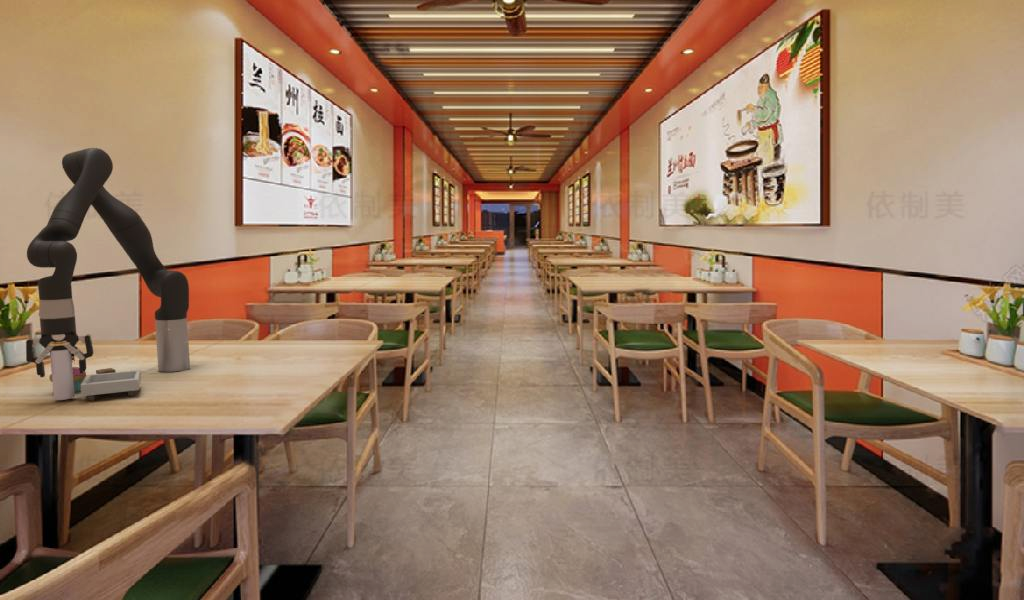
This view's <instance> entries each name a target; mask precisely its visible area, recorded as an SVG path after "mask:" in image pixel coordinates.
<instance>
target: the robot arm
mask: <svg viewBox="0 0 1024 600" xmlns="http://www.w3.org/2000/svg"><path fill="white" fill-rule="evenodd" d="M61 165H62V169H63V171H64V173H65V175H66V176H67V178H68V179H69V180H70V182H71V183H72V184H73V186H72V187H71V188H70V189H69V190H68V191H67V192H66V193H65V194H64V196H63V197H61V199H60V200H59V201H58V202H57V204H56V205H55V207H54V208H53V211H52V212H51V215H50V218H49V219H48V222H47V223H46V226H44V228H42V229H41V230H40V231H39V232H38V234H37V235H36V236H34V238H33V239H32V240H31V241H30V243H29V244H28V246H27V249H26V258H27V260H28V261H27V262H29V263H30V264H31V266H33V267H37V268H41V269H42V268H43V269H45V268H54V272H53V273H52V275H49V276H44V277H41V278H39V280H37V281H38V282H37V289H38V298H39V299H38V301H39V303H38V317H39V323H40V324H39V327H40V338H28V339H26V340H25V349H26V350H25V355H26V356H25V357H26V362H27V363H34V364H35V367H36V375H37V376H39V377H40V378H45V377H46V372H45V369H46V368H45V362H44V360H45V358H46V357H47V355H49V354H50V351H53V350H67V349H68V350H69V351H71V353H73V354H74V356H76V357H77V359H79V360H78V368H79V371H80V373H84V371H85V372H86V371H87V359H88V358H91V357H93V355H94V348H93V341H92V335H91V334H86V335H80V336H79V335H78V334H77V324H76V312H75V303H74V299H73V292H72V281H73V276H74V272H75V269H76V266H77V260H78V253H77V249H76V247H75V246H74V245H73V244H72V243H71V242H70V241H73V240H75V239H76V238H77V236H78V235H79V233H80V230H81V227H82V225H83V223H84V220H85V218H86V216H87V213H88V211H89V209H90V207H92V208H93V209H94V210H95V212H96V213H97V215H99V216H100V218H101V219H102V221H103V222H104V223H105V225H106V226H107V228H108V230H109V231H110V232H111V234H112V235H113V237H114V238H115V240H116V241H117V242H118V244H119V245H120V247H122V249H123V251H124V252H125V254H127V256H128V257H129V259H130V260H131V262H132V263H133V265H135V267H136V269H137V270H138V273H139V274H140V276H141V278H142V280H143V281H144V283H145V285H146V287H147V289H148V290H149V291H150V292H151V294H153V295H154V296H156V297H157V298H158V297H159V298H160V307H159V308H158V309H156V310H155V311H154V323H155V324H154V325H155V338H156V340H155V341H156V355H157V371H159V372H161V373H172V372H173V373H174V372H183V371H187V370H190V369H191V364H190V360H191V359H190V344H189V331H188V311H189V310H190V309H189V308H190V285H189V280H188V278H187V276H186V275H185V274H184V273H183V272H181V271H178V270H169V269H167V268H166V267H165V266H164V265H163V263H162V262H161V260H160V259H159V257H158V255H157V254H156V251H155V248H154V242H153V237H152V233H151V232H150V231H151V230H149V227H148V226H147V224H146V223H145V221H143V219H142V217H141V216H140V214H138V213H137V211H135V209H133V208H132V207H130V206H129V205H127V204H126V203H124V202H123V201H121V200H120V199H118V198H116V197H115V196H114V195H112V194H111V193H110V192H109V191H108V190H107V189H106V188H105V187H104V185H105V184H106V183H107V181H108V179H109V178H110V176H111V175H112V173H113V168H114V165H113V160H112V159H111V156H110V155H109V154H108V153H107V152H106V151H105V150H103V149H101V148H98V147H90V148H89V147H88V148H84V149H81V150H77V151H72V152H70V153H66V154H65V155H64V156H63V157H62V160H61ZM60 334H65V338H64V339H63V340H60V341H56V340H54V339H53V338H52V335H60ZM79 341H81V343H82V344H84V345H85V349H86V352H85V353H84V352H83V351H81V349H80V348H79V347H78V346H76V344H78V342H79ZM55 342H62V343H68V342H71V344H69V343H68V344H69V345H62V346H49V345H48V346H47V344H48V343H49V344H55ZM39 344H40V345H41V346H42V347H43V348H44V350H42V352H41V353H40V354H39V356H38V357H37V356H35V348H36V347H37V346H38V345H39Z"/></svg>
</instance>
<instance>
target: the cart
mask: <svg viewBox="0 0 1024 600" xmlns="http://www.w3.org/2000/svg"><path fill="white" fill-rule="evenodd" d="M141 375H142V374H141V369H139V370H138V369H137V370H128V371H127V370H126V371H116V372H115V373H104V374H96V373H95V374H86V377H85V379H84V380H83V382H82V384H81V385H80V386H81V389H80V394H81V396H80V397H87V396H88V402H93V401H95V400H96V395H104V394H105V395H106V394H115V393H123V392H127V394H128V397H134V396H135V391H140V386H141V384H142V383H141V382H142V376H141Z"/></svg>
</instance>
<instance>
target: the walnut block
mask: <svg viewBox="0 0 1024 600" xmlns="http://www.w3.org/2000/svg"><path fill="white" fill-rule="evenodd" d="M115 372H117V371H116V369H114V368H112V367H109V368H108V367H107V368H100V369H95V374H104V373H115Z"/></svg>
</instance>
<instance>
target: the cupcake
mask: <svg viewBox="0 0 1024 600" xmlns="http://www.w3.org/2000/svg"><path fill="white" fill-rule="evenodd" d="M71 357H73V356H71ZM72 369H73V381H74V393H78V392H79V391H80V392H81V386H80V385H81V384H82V382H83V380H84V379H85V377H86V376H87V373H86V370H85V371H84V373H80V371H79V366H72ZM49 381H50V382H51V383H52V373H51V374H49Z"/></svg>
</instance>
